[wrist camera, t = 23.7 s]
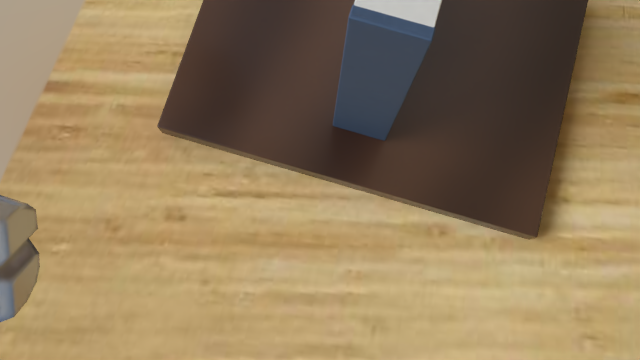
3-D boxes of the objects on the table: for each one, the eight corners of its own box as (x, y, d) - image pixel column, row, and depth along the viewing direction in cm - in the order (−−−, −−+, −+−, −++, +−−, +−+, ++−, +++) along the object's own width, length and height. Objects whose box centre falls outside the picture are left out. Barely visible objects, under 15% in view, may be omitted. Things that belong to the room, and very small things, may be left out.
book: (332, 126, 34) (348, 17, 21) (374, -14, 36) (412, -190, 23) (385, 141, 34) (432, 41, 21) (424, 0, 36) (489, -170, 23)
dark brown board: (161, 132, 35) (156, 126, 34) (241, -86, 38) (239, -98, 37) (529, 239, 34) (537, 237, 33) (580, 8, 37) (589, -2, 36)
